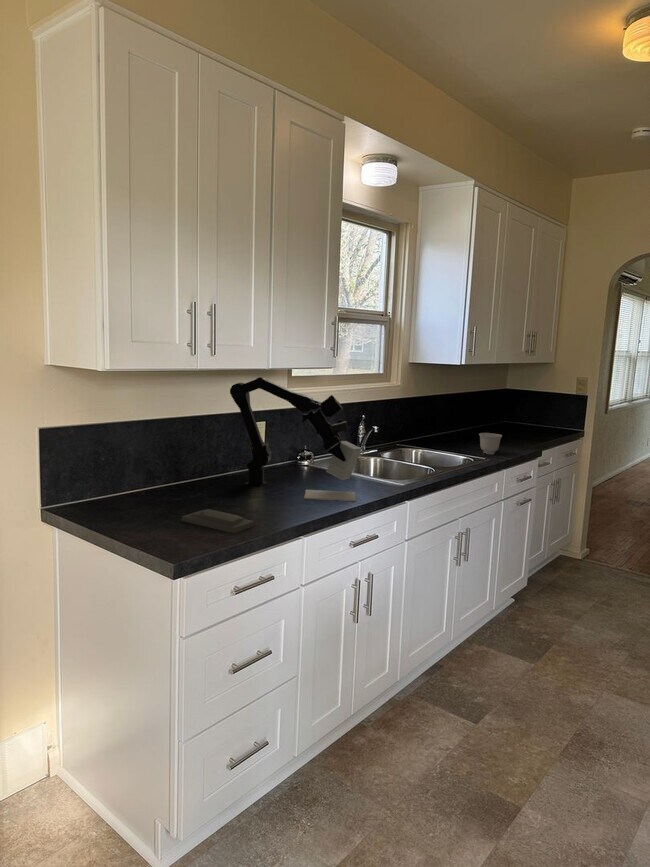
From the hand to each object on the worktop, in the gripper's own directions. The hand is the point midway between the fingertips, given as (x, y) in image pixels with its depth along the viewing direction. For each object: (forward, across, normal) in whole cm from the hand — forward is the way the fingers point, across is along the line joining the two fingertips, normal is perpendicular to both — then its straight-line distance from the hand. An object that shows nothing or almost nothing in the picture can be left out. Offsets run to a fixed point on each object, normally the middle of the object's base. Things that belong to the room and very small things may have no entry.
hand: (344, 459), depth 244 cm
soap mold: (-11, -50, +39) cm, 65 cm away
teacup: (+53, +101, -56) cm, 127 cm away
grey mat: (+7, -10, +11) cm, 16 cm away
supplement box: (+4, 0, +6) cm, 7 cm away
